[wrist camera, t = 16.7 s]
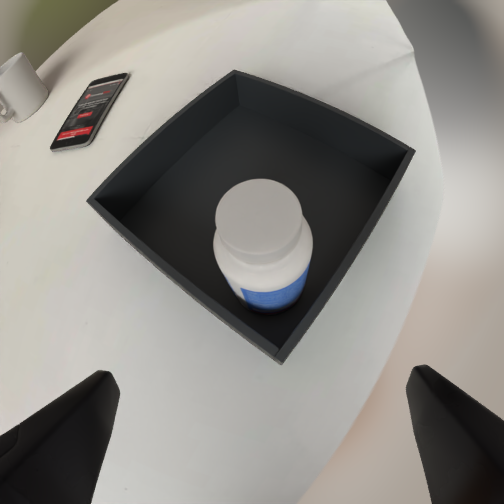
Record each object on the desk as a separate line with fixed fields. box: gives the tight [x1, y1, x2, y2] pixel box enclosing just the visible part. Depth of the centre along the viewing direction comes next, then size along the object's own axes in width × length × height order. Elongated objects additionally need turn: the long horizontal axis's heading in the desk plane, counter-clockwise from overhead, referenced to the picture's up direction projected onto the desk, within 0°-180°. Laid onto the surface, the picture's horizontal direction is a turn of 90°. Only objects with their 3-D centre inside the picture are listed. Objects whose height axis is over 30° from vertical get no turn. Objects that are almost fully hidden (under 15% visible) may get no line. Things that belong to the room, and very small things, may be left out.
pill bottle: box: [213, 179, 313, 315], centre depth 18 cm, size 6×5×10 cm
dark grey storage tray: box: [86, 70, 416, 365], centre depth 24 cm, size 19×19×5 cm
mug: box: [0, 52, 48, 123], centre depth 34 cm, size 12×8×11 cm
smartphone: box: [50, 73, 129, 152], centre depth 34 cm, size 7×1×15 cm
